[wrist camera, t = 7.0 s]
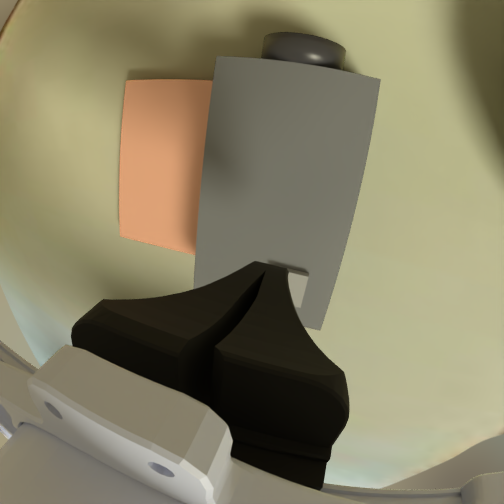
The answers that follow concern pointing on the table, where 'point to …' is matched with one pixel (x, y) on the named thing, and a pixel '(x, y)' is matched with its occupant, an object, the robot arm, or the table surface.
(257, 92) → the camera housing
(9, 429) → the robot arm
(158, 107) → the side door
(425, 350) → the table surface
